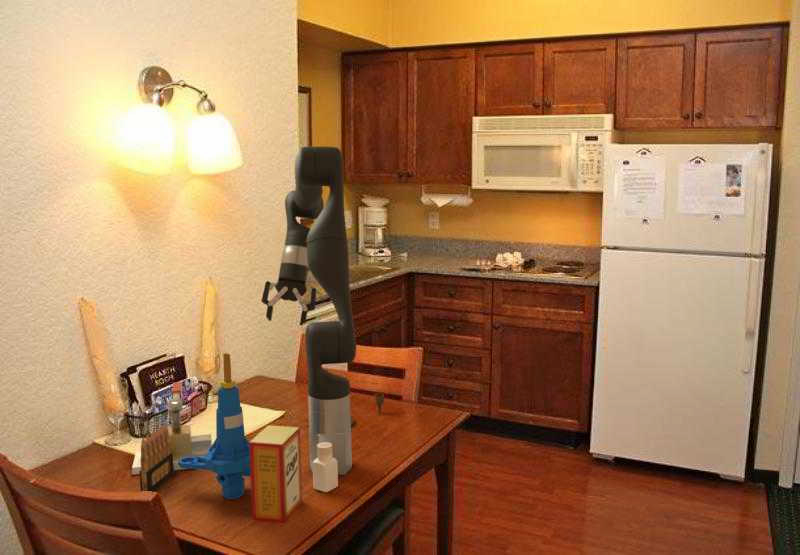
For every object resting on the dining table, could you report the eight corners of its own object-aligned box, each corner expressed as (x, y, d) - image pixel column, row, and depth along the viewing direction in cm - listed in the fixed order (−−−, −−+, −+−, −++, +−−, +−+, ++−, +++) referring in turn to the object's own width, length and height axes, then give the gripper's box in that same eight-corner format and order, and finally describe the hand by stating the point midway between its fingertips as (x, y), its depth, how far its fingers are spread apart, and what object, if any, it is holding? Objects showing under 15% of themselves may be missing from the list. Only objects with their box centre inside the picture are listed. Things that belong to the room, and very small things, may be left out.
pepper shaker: (312, 488, 154) (310, 445, 153) (325, 482, 157) (324, 439, 156) (326, 494, 152) (325, 450, 150) (339, 487, 155) (338, 444, 154)
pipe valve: (211, 447, 173) (209, 403, 171) (211, 456, 167) (209, 411, 166) (144, 454, 169) (141, 408, 167) (142, 463, 164) (139, 417, 162)
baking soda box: (271, 497, 150) (268, 423, 148) (301, 500, 149) (299, 425, 146) (252, 520, 141) (249, 440, 139) (284, 523, 140) (281, 443, 137)
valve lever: (184, 388, 181) (184, 381, 181) (182, 410, 165) (181, 403, 165) (171, 389, 180) (170, 382, 180) (167, 412, 165) (166, 404, 164)
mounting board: (220, 450, 175) (220, 443, 175) (221, 465, 167) (221, 458, 166) (136, 458, 171) (136, 452, 170) (132, 474, 162) (132, 467, 162)
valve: (194, 478, 160) (186, 343, 155) (267, 485, 156) (261, 348, 151) (167, 500, 150) (158, 357, 145) (245, 509, 146) (238, 362, 141)
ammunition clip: (166, 473, 163) (163, 421, 161) (174, 473, 162) (171, 421, 160) (140, 494, 152) (136, 439, 150) (148, 495, 152) (144, 440, 150)
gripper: (267, 258, 196) (257, 318, 194) (320, 266, 197) (311, 326, 195) (270, 261, 204) (260, 320, 202) (321, 269, 205) (312, 327, 203)
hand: (285, 323), depth 198 cm, fingers open, 8 cm apart
